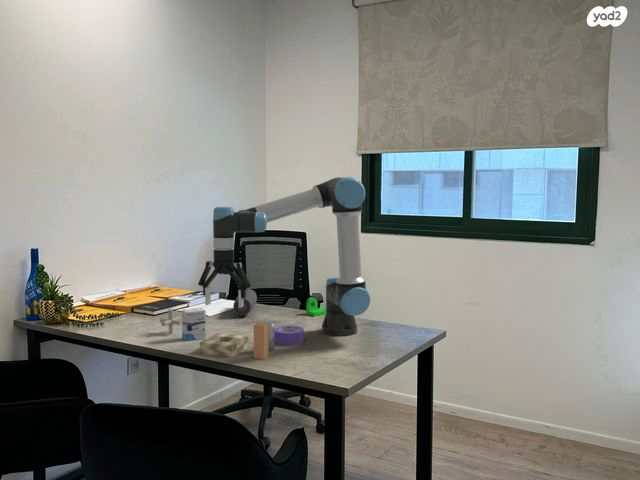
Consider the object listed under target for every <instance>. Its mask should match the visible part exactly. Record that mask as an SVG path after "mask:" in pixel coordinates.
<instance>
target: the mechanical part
mask: <svg viewBox="0 0 640 480" xmlns="http://www.w3.org/2000/svg"><path fill="white" fill-rule="evenodd" d="M318 303H319V302H318V299H316V298H315V297H309V298H308V299H307V300H306V304H305V305H306V306H305V309H306V310H305V315H306V314H307V315H306V316H309V315H311V317H313V316H317V317H320V315H322V316H325V315H324V314H326V306H324V307H318V305H319V304H318Z"/></svg>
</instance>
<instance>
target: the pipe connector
mask: <svg viewBox="0 0 640 480" xmlns="http://www.w3.org/2000/svg"><path fill="white" fill-rule="evenodd" d="M159 322H160V325H161V326H162V327H165V326H168V334H169V335H173V334H174V325H177V326H182V320H181V317H180V316H176V317H174V309H173V308H171V309H170V308H169V309H168V318H163V317H160V319H159Z"/></svg>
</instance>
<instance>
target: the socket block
mask: <svg viewBox="0 0 640 480" xmlns="http://www.w3.org/2000/svg"><path fill="white" fill-rule="evenodd" d="M248 347H249V335H241V334H231V333H221V332H220V333H219V332H217V333H215V334H213V335H211V336H209V337H206V339H203V340H202V341H199V354H205V355H213V354H214V356H222V355H223V356H225V357H233V356H235V355H237V354H238V352H239V353H241V352H242V351H244V350H245V349H247V348H248Z"/></svg>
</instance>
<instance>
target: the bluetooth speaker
mask: <svg viewBox="0 0 640 480" xmlns="http://www.w3.org/2000/svg"><path fill="white" fill-rule="evenodd" d="M257 300H258V296H257V293H256V291H255V290H253V289H251V288H247V289H246V297H245V298H244V306H243V307H241V308H239V296H237V297H236V298H235V300H234V302H233V306H232V308H233V310H234V311H233V312H234V313H236V315H238V316H247V315H249V313H250V312H252V310H253V309H254V307H255V306H256V303H257Z"/></svg>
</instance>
